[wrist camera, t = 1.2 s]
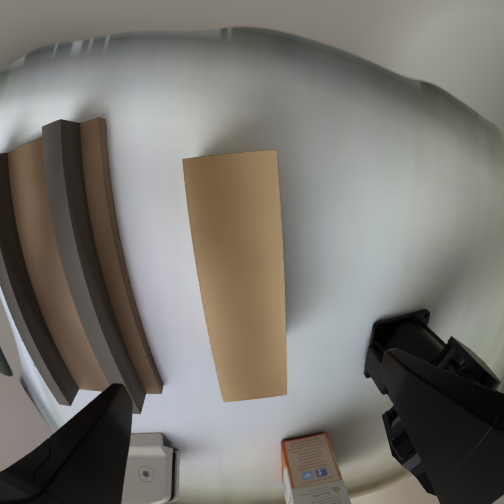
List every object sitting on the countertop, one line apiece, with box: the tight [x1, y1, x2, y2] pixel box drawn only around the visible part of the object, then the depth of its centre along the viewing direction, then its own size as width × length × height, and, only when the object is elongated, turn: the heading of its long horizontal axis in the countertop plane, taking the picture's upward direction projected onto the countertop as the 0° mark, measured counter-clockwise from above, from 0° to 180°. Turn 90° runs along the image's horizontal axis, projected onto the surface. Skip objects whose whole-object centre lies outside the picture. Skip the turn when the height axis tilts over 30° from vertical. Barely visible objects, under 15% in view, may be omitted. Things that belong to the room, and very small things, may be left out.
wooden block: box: [182, 150, 287, 402], centre depth 16 cm, size 4×14×6 cm, turn 5°
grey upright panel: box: [121, 433, 180, 504], centre depth 21 cm, size 17×5×10 cm, turn 104°
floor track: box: [0, 118, 163, 414], centre depth 16 cm, size 12×22×4 cm, turn 5°
